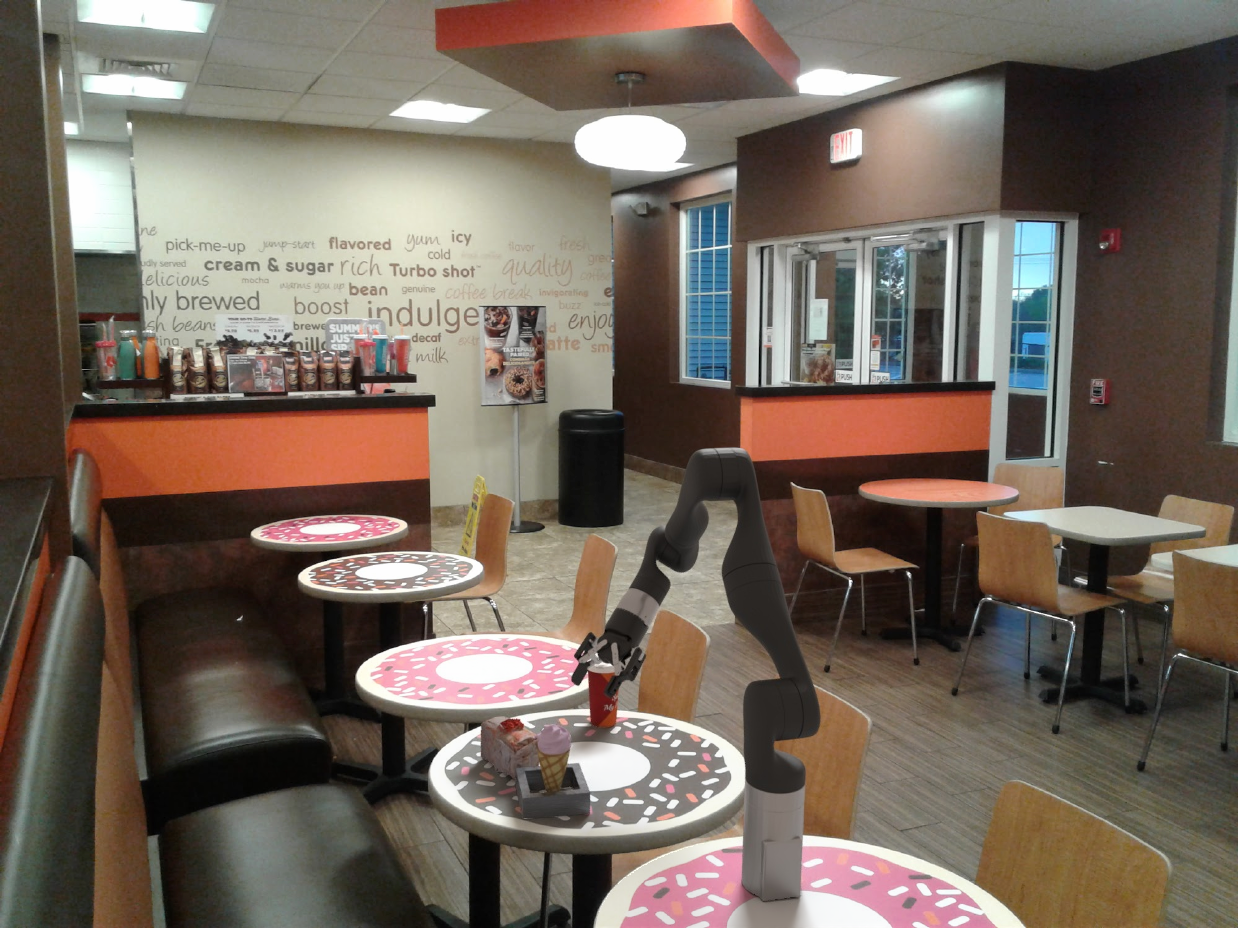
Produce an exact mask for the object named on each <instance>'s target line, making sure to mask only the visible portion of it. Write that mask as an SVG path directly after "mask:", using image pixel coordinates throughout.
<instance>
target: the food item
mask: <svg viewBox="0 0 1238 928" xmlns="http://www.w3.org/2000/svg"><path fill="white" fill-rule="evenodd" d="M535 735H536V733H535V732H532V731H531V730H529V729H528V728H526V727H525V723H523V721H522V720H521V719H520V718H513V717H512V718H511V717H507V716H504V715H503V716H502V715H501V716H493V717H492V718H490V719H489V718H488V719H486V720H484V721H483V722H482V723H480V758H481V760H484V761H487V762H488V763H489V764H491V765H493V768H494V771H495V772H496V773H503V774H504V775H506V776H510V777H511V778H512V779H513V780H514V779H516V768H521V767H533V766H540V764H539V758H538V753H537V747H538V739H537V738H535V739H534V738H533V737H534V736H535Z"/></svg>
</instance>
